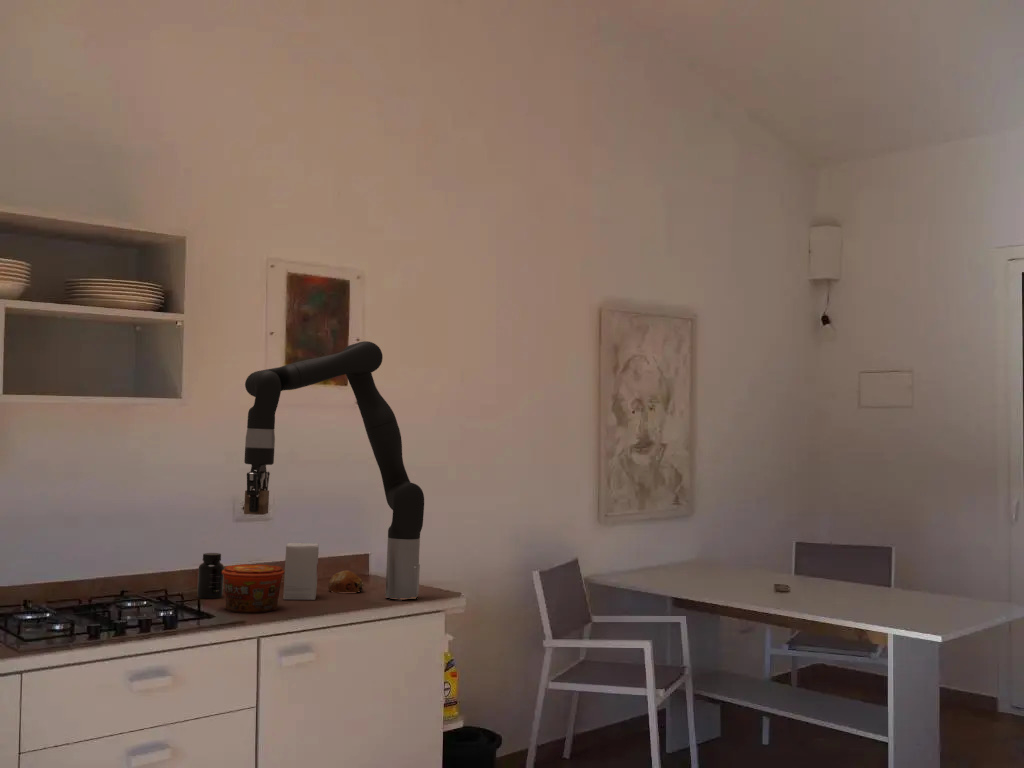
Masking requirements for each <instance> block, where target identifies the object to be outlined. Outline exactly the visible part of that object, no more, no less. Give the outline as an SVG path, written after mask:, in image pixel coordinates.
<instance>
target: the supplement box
mask: <svg viewBox="0 0 1024 768" xmlns="http://www.w3.org/2000/svg"><path fill="white" fill-rule="evenodd" d="M319 546H320V545H319V543H314V542H313V543H307V542H306V543H305V542H301V543H299V542H288V543H287V544H286V546H285V558H284V559H285V560H284V561H285V562H284V572H285V573H284V575H283V576H284V579H283V596H282V597H283V598H282V600H287V601H292V600H293V601H294V600H296V601H298V600H299V601H300V600H301V601H305V600H306V601H315V600H316V597H317V588H318V587H317V585H318V572H319V571H318V570H319V568H318V567H319Z"/></svg>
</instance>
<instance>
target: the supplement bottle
mask: <svg viewBox="0 0 1024 768" xmlns="http://www.w3.org/2000/svg"><path fill="white" fill-rule="evenodd" d="M202 561H203V562H202V563H200V564H199V566H198V573H197V574H198V576H197V590H196V591H197V593H196V594H197V598H199V599H201V600H216V599H221V598H222V597H223V595H224V574H223V575H222V571H223V570H224V569H225V566H224V564H222V563H221V561H222V554H221V553H219V552H206V553H203V554H202Z"/></svg>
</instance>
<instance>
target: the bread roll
mask: <svg viewBox="0 0 1024 768" xmlns="http://www.w3.org/2000/svg"><path fill="white" fill-rule="evenodd" d="M327 587H328V588H327V589H328V591H329V592H330V591H333V592H358V591H361V592H363V590H364V589H363V587H365V584H364V583H363V580H362V579H361V578H360V577H359V576H358V575H357V574H356V573H354V572H352V571H351V570H342V571H339V572H336V573H334V574H333V575H332V576H331V578H330V579H329V581H328V584H327Z"/></svg>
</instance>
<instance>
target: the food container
mask: <svg viewBox="0 0 1024 768" xmlns="http://www.w3.org/2000/svg"><path fill="white" fill-rule="evenodd" d="M223 574H224V579H223V587H224V597H225V609H226V610H227V611H229V612H233V613H239V614H259V613H268V612H272V611H275V610H277V608H278V603H279V602H278V601H279V596H280V591H281V586H282V585H281V584H282V578H283V575H285V569H283V568H282V567H281V566H279V565H270V564H247V563H246V564H235V565H227V566H224V570H223V571H222V575H223Z"/></svg>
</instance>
